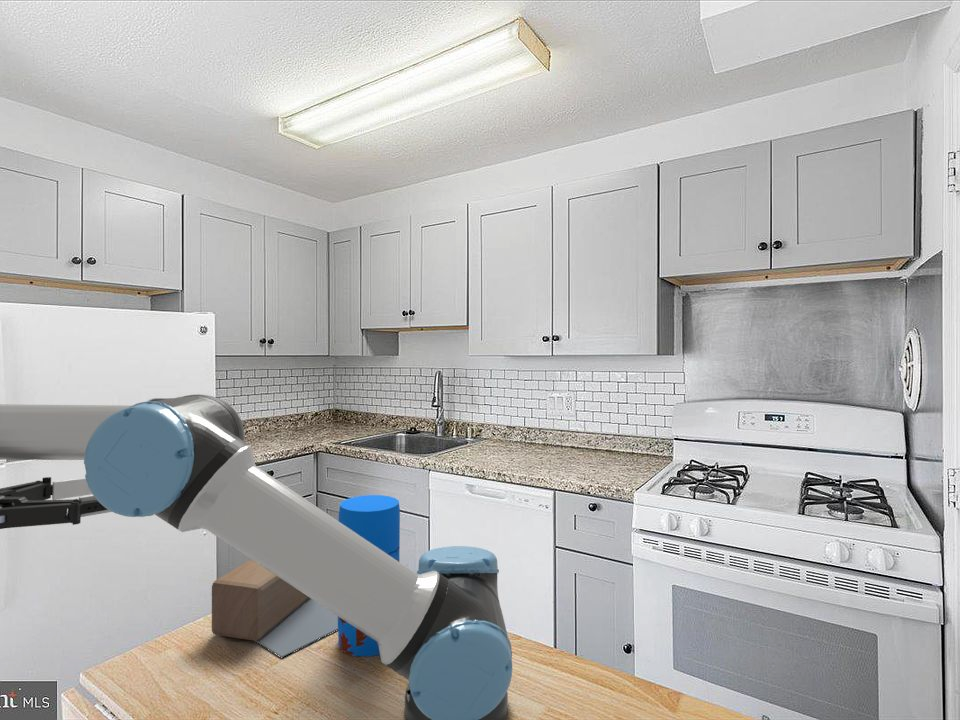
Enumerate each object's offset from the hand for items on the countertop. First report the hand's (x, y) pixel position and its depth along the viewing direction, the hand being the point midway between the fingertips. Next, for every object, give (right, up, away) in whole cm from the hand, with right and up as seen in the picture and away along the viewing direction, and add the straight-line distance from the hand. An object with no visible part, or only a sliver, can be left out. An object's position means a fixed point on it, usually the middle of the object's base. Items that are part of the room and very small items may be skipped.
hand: (116, 491), depth 84 cm
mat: (+23, -30, +21) cm, 43 cm away
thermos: (+37, -30, +13) cm, 49 cm away
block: (+13, -24, +11) cm, 30 cm away
